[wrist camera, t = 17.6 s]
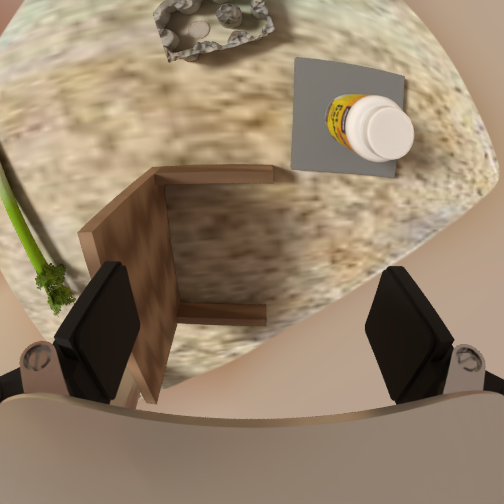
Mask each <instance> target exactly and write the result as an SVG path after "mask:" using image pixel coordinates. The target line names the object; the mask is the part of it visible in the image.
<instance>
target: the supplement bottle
mask: <svg viewBox="0 0 504 504" xmlns="http://www.w3.org/2000/svg"><path fill="white" fill-rule="evenodd" d="M325 124H326V127H327V130H328V132H329V133H330V135H331V136H332V137H333V138H334V139H335V140H336V141H337V142H339V143H340V144H342V145H343V146H345V147H347V148H348V149H350V150H351V151H353V152H355V153H356V154H358V155H359V156H361V157H362V158H364V159H366V160H369V161H372V162H386V161H389V160H394V159H399V158H401V157H403V156H404V155H406V154H407V153H408V151H409V150H410V149H411V147H412V144H413V141H414V128H413V124H412V122H411V120H410V119H409V117H408V116H407V115H406V114H405V113H404V112H403V110H402V109H401V108H400V107H399V106H398V105H397V104H396V103H395V102H394V101H392V100H391V99H389V98H386V97H383V96H378V95H361V94H345V95H341V96H339V97H337V98H335V99H334V100H333V101H332V102H331V103H330V104H329V106H328V107H327V110H326V113H325Z"/></svg>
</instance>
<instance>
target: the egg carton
mask: <svg viewBox="0 0 504 504" xmlns="http://www.w3.org/2000/svg"><path fill="white" fill-rule="evenodd" d="M201 1H204V0H165V1H163V2H162V3H161V4H160V5H159V7H158V8H157V9H156V10H155V12H154V13H153V16H154V19H155V22H156V26H157V29H158V32H159V35H160V38H161V41H162V44H163V47H164V50H165V53H166V56H167V59H168V62H169V63H170V62H171V61H176V60H178V59H179V58H183V59H184V60H186V61H187V62H192V61H195V60H197V59H198V55H199V53H202V54H204V53H208V52H211V51H214V50H218V49H219V51H222V50H224V49H226V48H231V47H234V46H238V45H241V44H243V43H246V42H249V41H257V40H260V39H261V38H262V37H265V36H267V35H268V33H270V32H273V31H275V28H274V25H273V23H272V20H271V17H270V15H269V12H268V9H267V6H266V4H265V1H264V0H252V2H251V5H250V6H251V13H252V15H253V16H254V17H256V18H257V19H266V20H267V22H268V24H266V25H264V27H263V28H262V34H261V35H259V36H257V37H253V36H252V35H250V34H249V33H247V32H243V31H234V32H232V34H231V36H230V37H229V39H228V44H227V45H225V46H221V45H219V44H218V43H216V42H213V41H212V42H209V41H204V42H203V43H200V42H198V43H197V44H196V45H195V46H194V47H193V48H192V49H187V50H184V51H181V52H177V53H173V50H174V49H175V48H176V47H177V46H178V44H179V37H178V36H177V35H176V34H175V33H174V32H173V31H171V30H169V29H164V25H166V24H167V23H168V22H169V20H170V14H171V13H172V12H175V11H177V10H179V11H180V12H181V13H182V14H185V15H190V14H193V13H195V12H196V11H198V9H199V8H200V3H201ZM211 1H213V2H214V3H217V4H221V3H226V2H228V1H229V0H211ZM216 16H217V18H218V20H219V22H220V24H221V25H222V26H223V27H225V28H235V27H237V26H239V25H240V24H241V22H242V13H241V10H240V8H239V7H237V6H236V5H233V4H222V6H221V7H220V8H219V9H218V10H217V12H216ZM209 32H210V26H209V24H208V23H206V22H205V21H195V22H194V23H192V24H191V25H190V27H189V29H188V33H189V35H190V36H191V37H192V38H194V39H202V38H204V37H205V36H207V35H208V34H209Z"/></svg>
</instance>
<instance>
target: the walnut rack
mask: <svg viewBox="0 0 504 504" xmlns="http://www.w3.org/2000/svg"><path fill="white" fill-rule="evenodd" d="M199 183H265V184H273V183H274V170H273V167H272V165H246V164H226V165H185V166H164V167H152V168H151V169H149V170H148V171H147V172H146V173H144V174H143V175H142V176H141V177H139V178H138V179H137V180H136V181H134V182H133V183H132V184H131V185H130V186H128V187H127V188H126V189H125V190H124V191H122V192H121V193H120V194H119V195H118V196H117V197H115V198H114V199H113V200H112V201H111V202H110V203H109V204H107V205H106V206H105V207H104V208H103V209H102V210H101V211H100V212H99V213H98V214H96V215H95V216H94V217H93V218H92V219H91V220H90V221H89V222H88V223H87V224H86V225H85V226H84V227H83V228H82V229H81V230H80V231H79V232H77V233H78V237H79V240H80V244H81V248H82V251H83V254H84V258H85V261H86V264H87V267H88V270H89V274H90V277H91V280H92V278H93V277H94V275H95V274H96V273H97V271H98V270H99V269H100V267H101V266H102V264H103V263H104V262H105V261H120V262H121V263H122V265H125V266H126V268H127V272H128V276H129V280H130V284H131V288H132V292H133V296H134V300H135V304H136V308H137V311H138V315H139V319H140V331H139V333H138V336H137V338H136V341H135V344H134V346H133V349H132V352H131V355H130V357H129V360H128V363H127V367H128V369H129V371H130V373H131V375H132V377H133V379H134V381H135V383H136V385H137V387H138V388H139V390H140V392H141V394H142V396H143V398H144V400H145V401H146V403H150V404H157V401H158V397H159V393H160V389H161V384H162V380H163V376H164V372H165V368H166V365H167V361H168V357H169V353H170V349H171V345H172V342H173V338H174V334H175V331H176V327H177V323H183V324H203V325H232V326H266V320H267V319H266V305H254V304H208V303H183V302H180V297H179V291H178V286H177V280H176V274H175V267H174V261H173V254H172V247H171V240H170V233H169V225H168V217H167V209H166V200H165V190H164V185H166V184H199Z"/></svg>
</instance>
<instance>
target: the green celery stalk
mask: <svg viewBox="0 0 504 504" xmlns="http://www.w3.org/2000/svg"><path fill="white" fill-rule="evenodd" d="M0 197H1V200H2V202H3V204H4V206H5V208H6V211H7V213H8V215H9V217H10V219H11V222H12V224H13V226H14V228H15V230H16V232H17V234H18V236H19V238H20V240H21V242H22V244H23V246H24V248H25V251H26V253H27V255H28V257H29V259H30V261H31V263H32V265H33V266H34V268H35V270H36V272H37V274H38V275H37V276H38V277H37V276H36V277H37V278H35V280H36V285H38V283H39V285H40V286H39V285H38V286H39V287H37V288H38V289H40V288H42V287H43V286H44V288H45V290H46V293H47V295H49V296H48V299H49V300H48V301H47V302H48V303H49V304H50V306H51V309H52V310H53V311H54V309H55V308H56V309H55V311H54V312H55V313H54V315H55V316H56V315H57V316H58V314H57V313H58V312H59V311H61V309H60V308H61V305H62V304H63V305H64V303H65V305H66V306H67V305H68V303H69V305H70V303H72V302H73V303H74V301H75V300H76V298H73V296H72V295H73V293H72V292H71V291H70V289H69V287H68V288H66V287H64V286H63V285H62V282H63V281H64V280H63V279H64V276H62V275H65V274H64V271H66V270H65V269H66V267H65V265H63V264H62V265H61V264H60V265H61V266H58V265H57V267H56V266H55V267H54V265H52V263H50V264H49V265H48V264H47V262H46V260H45V258H44V257H43V255H42V253H41V251H40V250H39V248H38V246H37V244H36V242H35V240H34V238H33V236H32V234H31V232H30V230H29V228H28V226H27V224H26V222H25V220H24V218H23V216H22V213H21V211H20V209H19V207H18V204H17V202H16V200H15V197H14V195H13V193H12V190H11V188H10V186H9V183H8V181H7V178H6V176H5V173H4V170H3V168H2V165H1V162H0ZM51 265H52V266H51ZM59 271H60V272H59ZM39 280H40V281H39ZM52 284H53V285H57V286H54V287H53V286H52ZM60 285H61V286H60ZM50 286H51V287H50ZM48 287H49V288H50V289H49V288H48ZM51 288H52V289H55V290H52V289H51ZM64 288H65V289H64ZM40 290H41V289H40ZM49 290H50V291H51V292H50V291H49ZM49 292H50V293H49ZM66 294H67V295H66ZM68 297H69V299H68ZM70 297H71V298H73V299H71V298H70ZM74 304H75V303H74ZM63 305H62V306H63ZM53 307H54V308H53ZM59 313H60V312H59Z"/></svg>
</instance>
